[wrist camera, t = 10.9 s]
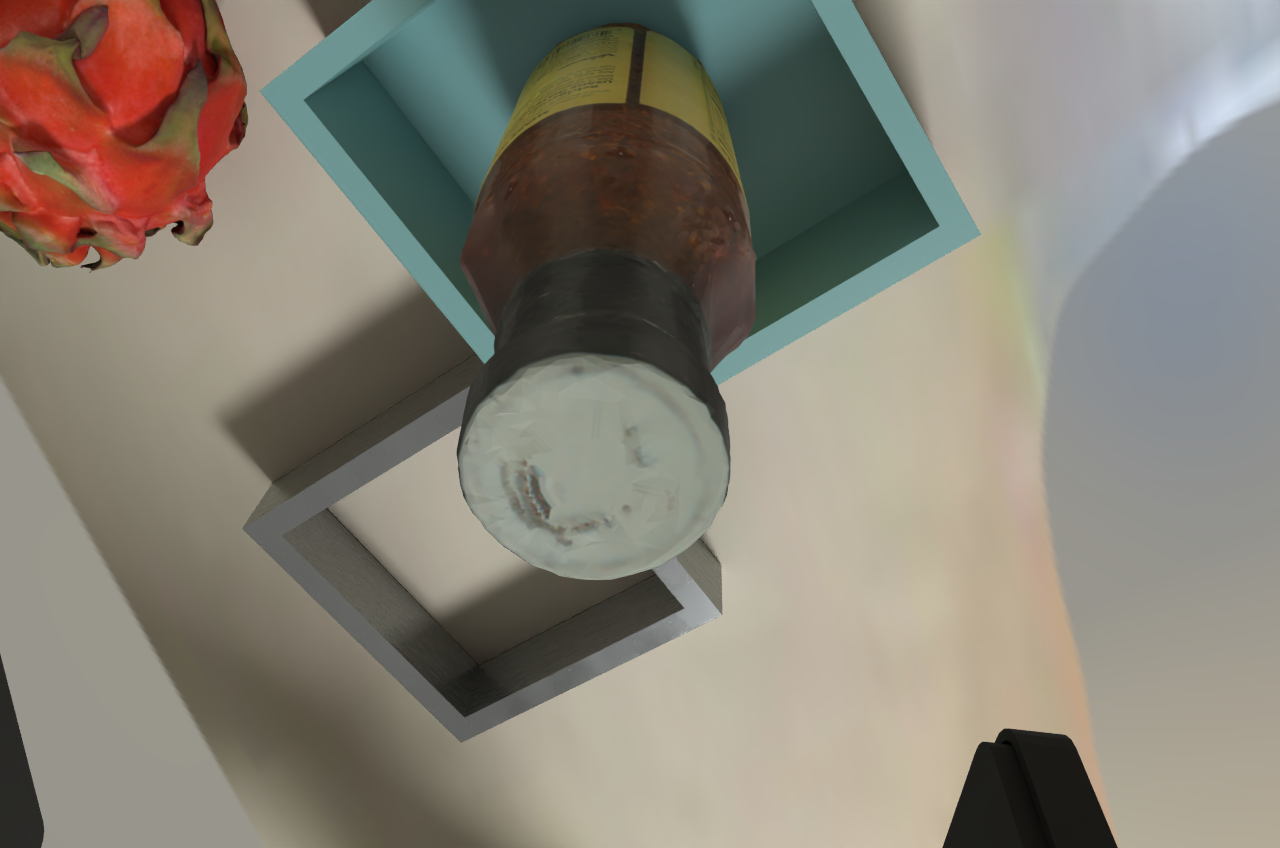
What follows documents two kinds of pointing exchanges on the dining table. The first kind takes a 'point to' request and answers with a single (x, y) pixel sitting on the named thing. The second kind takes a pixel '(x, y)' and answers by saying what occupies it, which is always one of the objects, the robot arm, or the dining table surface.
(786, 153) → the bin
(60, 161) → the dragon fruit
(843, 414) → the dining table surface
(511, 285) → the sauce bottle
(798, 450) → the dining table surface
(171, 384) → the dining table surface
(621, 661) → the collar
